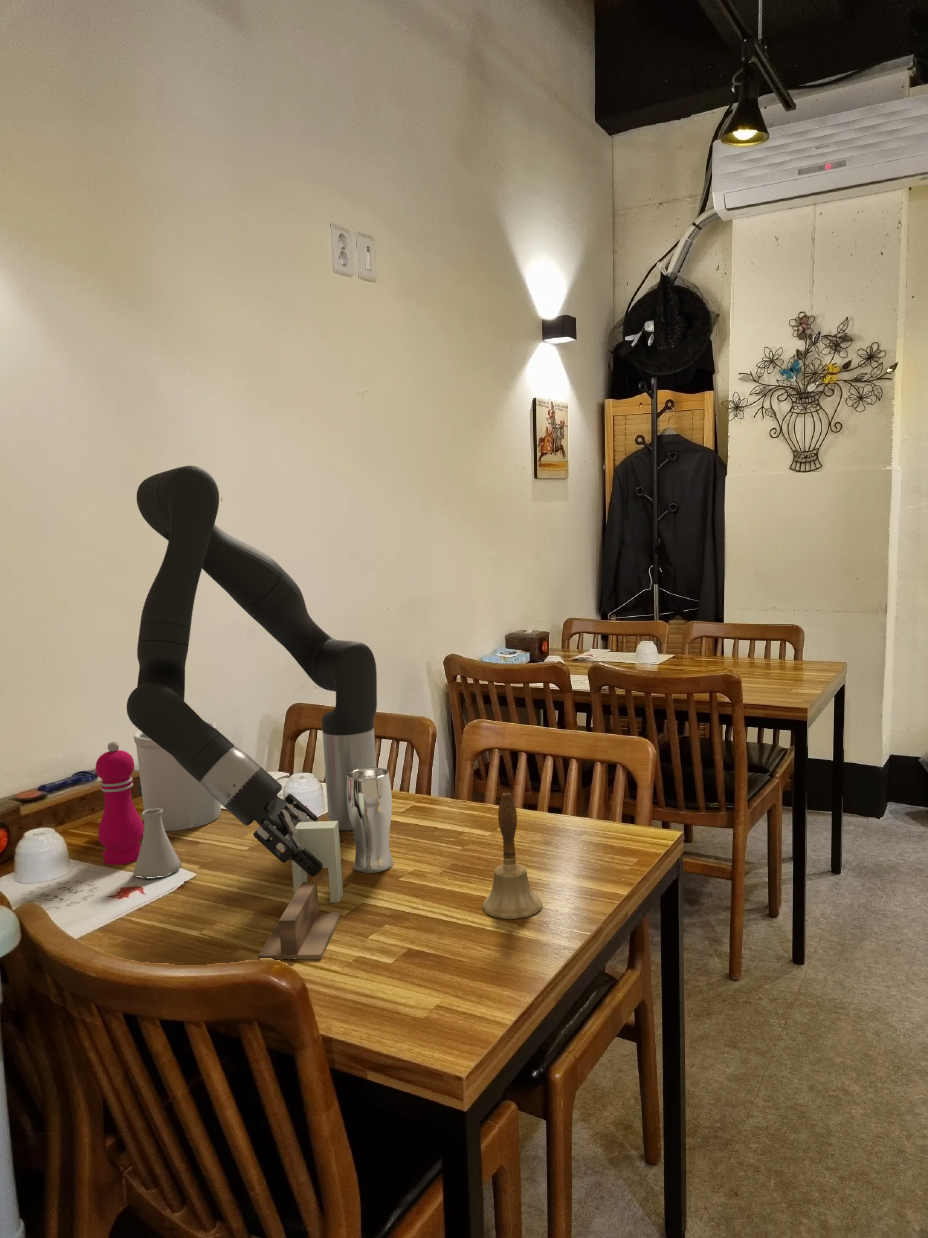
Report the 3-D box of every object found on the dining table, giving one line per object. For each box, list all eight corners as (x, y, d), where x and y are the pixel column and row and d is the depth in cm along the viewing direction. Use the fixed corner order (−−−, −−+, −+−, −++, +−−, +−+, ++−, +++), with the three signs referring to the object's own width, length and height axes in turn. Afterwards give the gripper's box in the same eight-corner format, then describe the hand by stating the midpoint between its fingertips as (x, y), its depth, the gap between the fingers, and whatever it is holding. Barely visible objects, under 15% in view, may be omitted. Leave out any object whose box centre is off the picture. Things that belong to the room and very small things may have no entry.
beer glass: (403, 860, 142) (398, 768, 141) (381, 877, 136) (375, 781, 135) (366, 855, 145) (360, 765, 144) (343, 871, 139) (336, 777, 138)
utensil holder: (211, 831, 162) (203, 736, 160) (129, 834, 162) (120, 740, 160) (233, 805, 176) (226, 718, 174) (158, 808, 177) (150, 721, 175)
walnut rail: (283, 918, 123) (280, 882, 123) (340, 916, 123) (338, 881, 122) (258, 960, 111) (255, 921, 111) (321, 959, 111) (318, 920, 110)
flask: (166, 881, 139) (160, 819, 138) (124, 880, 140) (118, 818, 139) (189, 863, 146) (184, 804, 145) (149, 862, 147) (144, 803, 146)
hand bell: (470, 906, 124) (464, 794, 123) (515, 889, 129) (510, 781, 127) (508, 925, 118) (503, 808, 116) (554, 907, 123) (550, 793, 121)
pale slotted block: (294, 903, 128) (289, 829, 127) (300, 894, 131) (294, 822, 130) (338, 902, 128) (333, 828, 126) (343, 894, 130) (338, 821, 129)
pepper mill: (155, 852, 152) (145, 737, 150) (126, 868, 145) (115, 748, 143) (121, 849, 154) (110, 735, 152) (91, 864, 148) (79, 746, 146)
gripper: (242, 781, 121) (332, 861, 121) (271, 753, 135) (352, 825, 135) (207, 820, 122) (296, 899, 122) (240, 789, 136) (319, 860, 136)
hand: (325, 860), depth 129 cm, fingers open, 8 cm apart
